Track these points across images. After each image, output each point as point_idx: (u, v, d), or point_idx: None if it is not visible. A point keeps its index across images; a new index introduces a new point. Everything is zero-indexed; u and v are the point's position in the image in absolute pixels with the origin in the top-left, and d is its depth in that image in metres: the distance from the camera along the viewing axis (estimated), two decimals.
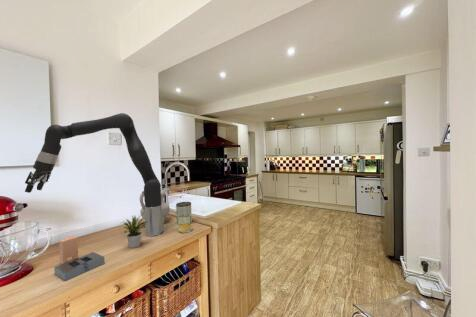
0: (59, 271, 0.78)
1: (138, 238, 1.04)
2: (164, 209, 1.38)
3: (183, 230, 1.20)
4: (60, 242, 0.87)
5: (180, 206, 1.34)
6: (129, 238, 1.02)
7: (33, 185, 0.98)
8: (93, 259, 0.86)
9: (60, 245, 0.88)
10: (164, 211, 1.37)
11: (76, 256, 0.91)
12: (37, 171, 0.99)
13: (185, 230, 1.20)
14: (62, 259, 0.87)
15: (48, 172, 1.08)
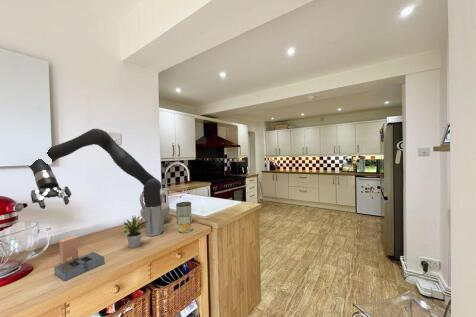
0: (59, 271, 0.78)
1: (138, 238, 1.04)
2: (164, 209, 1.38)
3: (183, 230, 1.20)
4: (60, 242, 0.87)
5: (180, 206, 1.34)
6: (129, 238, 1.02)
7: (41, 199, 0.93)
8: (93, 259, 0.86)
9: (60, 245, 0.88)
10: (164, 211, 1.37)
11: (76, 256, 0.91)
12: (39, 190, 0.96)
13: (185, 230, 1.20)
14: (62, 259, 0.87)
15: (64, 188, 1.04)
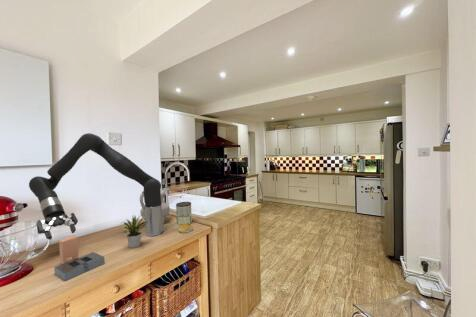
0: (59, 271, 0.78)
1: (138, 238, 1.04)
2: (164, 209, 1.38)
3: (183, 230, 1.20)
4: (60, 242, 0.87)
5: (180, 206, 1.34)
6: (129, 238, 1.02)
7: (47, 230, 0.90)
8: (93, 259, 0.86)
9: (60, 245, 0.88)
10: (164, 211, 1.37)
11: (76, 256, 0.91)
12: (45, 219, 0.94)
13: (185, 230, 1.20)
14: (62, 259, 0.87)
15: (70, 214, 1.01)
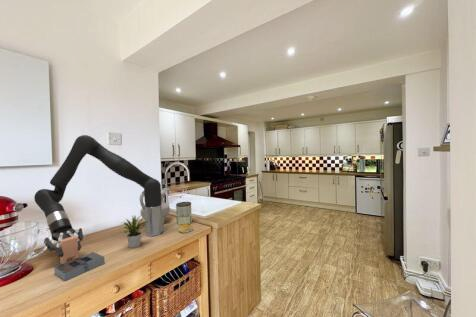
0: (59, 271, 0.78)
1: (138, 238, 1.04)
2: (164, 209, 1.38)
3: (183, 230, 1.20)
4: (60, 242, 0.87)
5: (180, 206, 1.34)
6: (129, 238, 1.02)
7: (59, 247, 0.87)
8: (93, 259, 0.86)
9: (60, 245, 0.87)
10: (164, 211, 1.37)
11: (76, 256, 0.91)
12: (52, 234, 0.90)
13: (185, 230, 1.20)
14: (62, 259, 0.87)
15: (78, 230, 0.97)
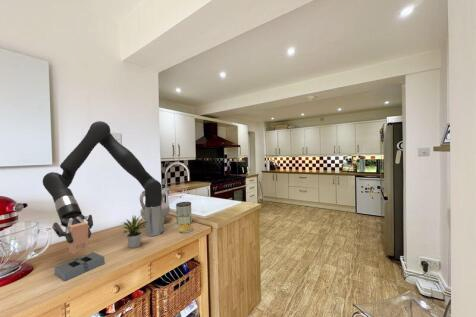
0: (59, 271, 0.78)
1: (138, 238, 1.04)
2: (164, 209, 1.38)
3: (184, 230, 1.20)
4: (70, 228, 0.82)
5: (180, 206, 1.34)
6: (129, 238, 1.02)
7: (69, 232, 0.81)
8: (93, 259, 0.86)
9: (70, 231, 0.82)
10: (164, 211, 1.37)
11: (86, 243, 0.85)
12: (61, 220, 0.84)
13: (186, 230, 1.20)
14: (72, 246, 0.81)
15: (88, 216, 0.91)
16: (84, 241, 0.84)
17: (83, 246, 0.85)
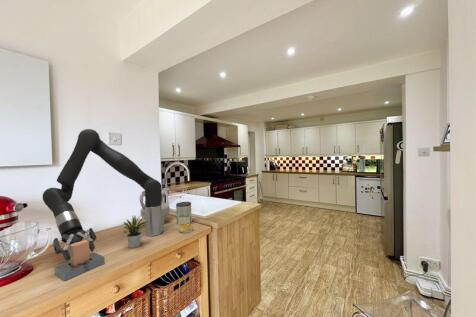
0: (59, 271, 0.78)
1: (138, 238, 1.04)
2: (164, 209, 1.38)
3: (184, 230, 1.20)
4: (71, 247, 0.82)
5: (180, 206, 1.34)
6: (129, 238, 1.02)
7: (66, 249, 0.80)
8: (93, 259, 0.86)
9: (71, 250, 0.82)
10: (164, 211, 1.37)
11: (87, 261, 0.85)
12: (62, 236, 0.84)
13: (186, 230, 1.20)
14: (73, 265, 0.81)
15: (88, 230, 0.92)
16: (85, 259, 0.84)
17: None
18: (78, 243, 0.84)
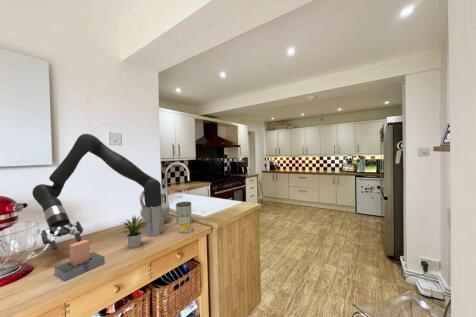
0: (59, 271, 0.78)
1: (138, 238, 1.04)
2: (164, 209, 1.38)
3: (184, 230, 1.20)
4: (71, 247, 0.82)
5: (180, 206, 1.34)
6: (129, 238, 1.02)
7: (53, 240, 0.87)
8: (93, 259, 0.86)
9: (71, 250, 0.82)
10: (164, 211, 1.37)
11: (87, 261, 0.85)
12: (50, 229, 0.91)
13: (186, 230, 1.20)
14: (73, 265, 0.81)
15: (75, 223, 0.98)
16: (85, 259, 0.84)
17: None
18: (78, 243, 0.84)
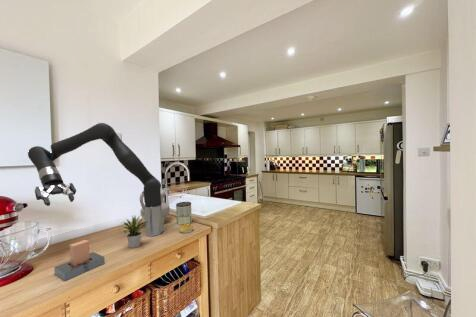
0: (59, 271, 0.78)
1: (138, 238, 1.04)
2: (164, 209, 1.38)
3: (184, 230, 1.20)
4: (71, 247, 0.82)
5: (180, 206, 1.34)
6: (129, 238, 1.02)
7: (46, 196, 0.90)
8: (93, 259, 0.86)
9: (71, 250, 0.82)
10: (164, 211, 1.37)
11: (87, 261, 0.85)
12: (43, 186, 0.93)
13: (186, 230, 1.20)
14: (73, 265, 0.81)
15: (69, 185, 1.01)
16: (85, 259, 0.84)
17: None
18: (78, 243, 0.84)
